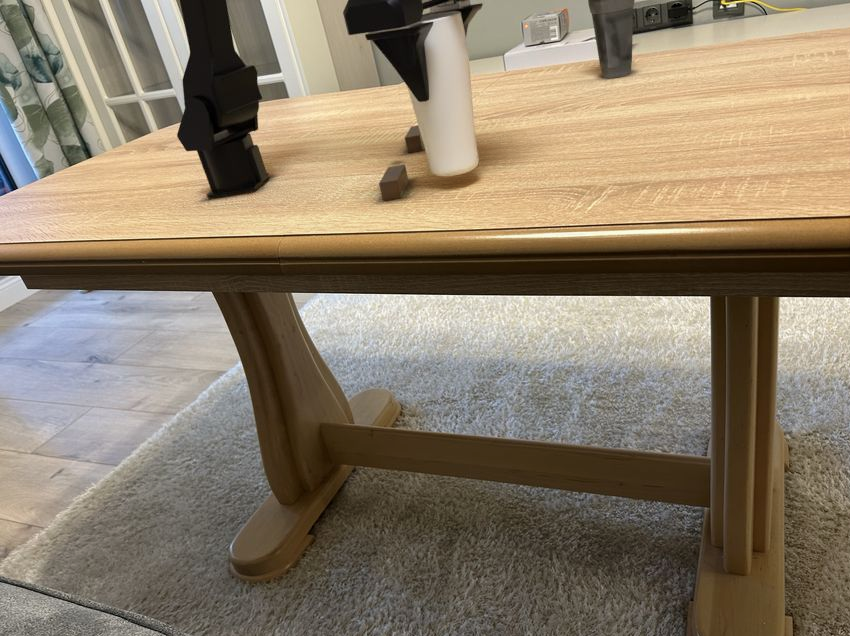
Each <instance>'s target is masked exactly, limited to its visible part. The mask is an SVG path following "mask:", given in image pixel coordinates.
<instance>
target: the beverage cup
mask: <svg viewBox="0 0 850 636" xmlns="http://www.w3.org/2000/svg"><path fill="white" fill-rule="evenodd" d="M587 3H588V8H589V12H590V14H591V17H592V24H593V31H594V36H595V42H596V43H595V44H596V49H597V55H598V61H599V67H600V71H601V76H602V78H603V79H616V78H621V77H625V76H628V75H630V74H632V63H633V29H634V28H633V27H634V6H635V0H587Z"/></svg>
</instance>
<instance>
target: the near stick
mask: <svg viewBox="0 0 850 636" xmlns="http://www.w3.org/2000/svg"><path fill="white" fill-rule="evenodd" d="M409 181H410V180H409V175H408V172H407V168H406V164H403V163H402V164H397V165H392V166H387V168H386V170H385V172H384V174H383V176H382V177H381V179H380V181H379V183H378V186H379V189H380V193H381V196H382V201H392V200H398V199H401V198H402V197H403V194H404V192H405V190H406V187H407V186H408V184H409Z"/></svg>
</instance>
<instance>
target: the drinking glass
mask: <svg viewBox="0 0 850 636" xmlns="http://www.w3.org/2000/svg"><path fill="white" fill-rule="evenodd" d="M427 22H433V26H432V28H431V30H430V32H429V34H428V36H427V38H426V40H425V43H424V46H425V55H426V65H427V74H428V84H429V100H428V101H426V102H419V101H418V100H417V99H416V98H415V96H414V95H413V93H412V92H411V91H410V89H409V88H408V86H407V85H406V88H407V92H408V95H409V99H410V102H411V105H412V109H413V112H414V115H415V119H416V123H417V125H418V126H419V129H420V133H421V136H422V140H423V144H424V151H425V153H426V154H425V155H426V159H427V164H428V169H429V171H430V173H431V174H433V175H434V176H437V177H454V176H459V175H463V174H466V173H468V172H471V171H473V170H474V169H476V167H478V166H479V165H478V164H479V161H480V159H479V152H478V146H477V137H476V126H475V115H474V102H473V91H472V90H473V89H472V80H471V79H472V78H471V77H472V75H471V66H470V65H471V64H470V55H469V48H468V43H467V42H468V41H467V35H466V36H465V30H464V25H463V21H462V16H461V12H460V11H449V12H442V13H436V14H430V15H425V16H422V23H427Z"/></svg>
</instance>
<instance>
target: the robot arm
mask: <svg viewBox="0 0 850 636" xmlns="http://www.w3.org/2000/svg"><path fill="white" fill-rule="evenodd" d="M179 3H180V10H181V14H182V19H183V23H184V28H185V29H184V30H185V34H186V38H187V43H188V48H189V49H188V50H189V56H188V59H187V63H186V66H185V69H184V73H183V75H182V76H183V77H182V80H181V81H182V90H183V91H182V92H183V101H184V110H183V113H182V116H181V120H180V123H179V126H178V130H177V133H176V136H177V139H178V140H179V142H180V144H181V145H182V147H183V148H184V150H185V151H186V152H197V156H198V158H199V161H200V163H201V166H202V169H203V173H204V175H205V176H206V180H207V183H208V185H209V188H210V191H209V192H207V193H206V197H207V199H212V198H213V199H214V198H219V197H224V196H231V195H237V194H243V193H244V194H245V193H250V192H254V191H256V190H257V189H258V188H259V187H260V186H261V185H262V184H263V183H264V182H265V181H266V180H268V178H270V174H269V172H267V170H266V169H267V168H266V166H265V163H264V159H263V157H262V154H261V150H260V148H259V145H257V144H255V143H254V140H253V138H252V135H251V133H253V132H256V131H258V130H259V117H258V115H259V114H258V113H259V109H260V101H261V100H263V96H262V94H261V91H260V88H259V82H258V70H257V68H256V66H255V65H254V64H252V65H246V63H245V62H244V60H243V59H242V58H241V57H240V55H239V54H238V53H237V51H236V48H235V45H234V39H233V33H232V26H231V21H230V15H229V8H228V4H227V3H228V2H227V0H179ZM483 5H484V3H481V2H480V3H474V4H471V0H347V2H346V5H345V6H344V9H343V11H342V15H343V20H344V23H345V28H346V31H347V35H348V36H354V35H361V34H364V36H365V39H366V41H372V43H373V44H374V45H375V46H376V47H377V48H378V50H379V51H380V52H381V53H382V55H383V56H384V57H385V58H386V60H387V61H388V62H389V63H390V64H391V66H392V68H394V70H395V71H396V73H397V74H398V75H399V76H400V78H401V79H402V81H403V82H404V83H405V85H406V87H407V86H408V88H409V89H410V91H411V92H412V93H413V95H414V96H415V98H416V99H417V100H418V101H419V102H426V101H428V100H429V84H428V74H427V65H426V55H425V46H424V43H425V40H426V38H427V36H428V34H429V32H430V30H431V28H432V26H433V22H427V23H422V16H425V15H430V14H436V13H442V12H449V11H460V12H461V16H462V21H463V25H464V30H465V36H466V37H467V35H468V28H469V25H470V24H471V21H472V20H473V18H474V17H475V16H476V14H477V13H478V12H479V11H480V10H482V8H483ZM427 9H429V12H426V13H424V10H427ZM408 88H407V89H408Z"/></svg>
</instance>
